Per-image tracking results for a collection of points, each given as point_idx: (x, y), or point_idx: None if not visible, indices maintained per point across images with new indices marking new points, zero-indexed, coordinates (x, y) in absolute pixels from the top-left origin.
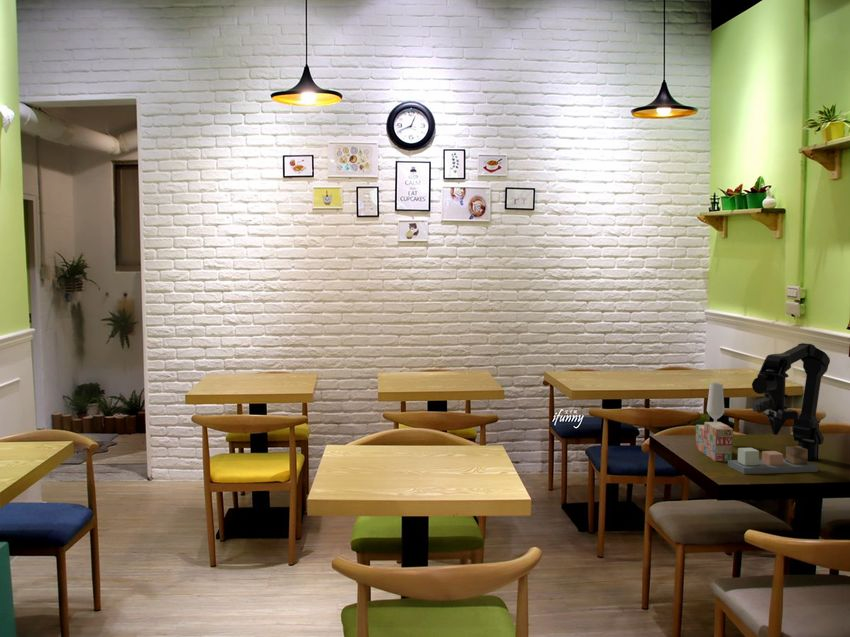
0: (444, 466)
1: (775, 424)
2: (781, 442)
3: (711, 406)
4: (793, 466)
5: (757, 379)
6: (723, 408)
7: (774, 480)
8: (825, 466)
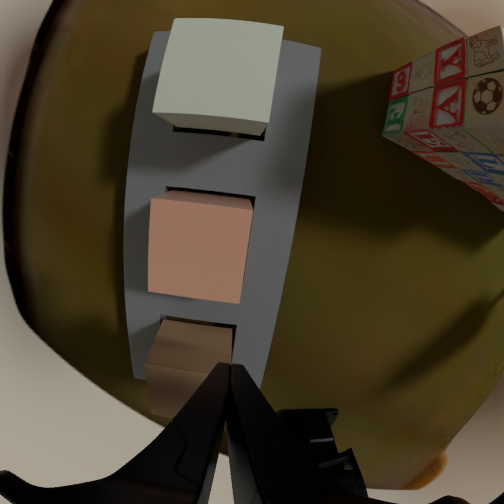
0: None
1: (156, 447)
2: (438, 421)
3: None
4: (129, 291)
5: None
6: None
7: (54, 122)
8: None
